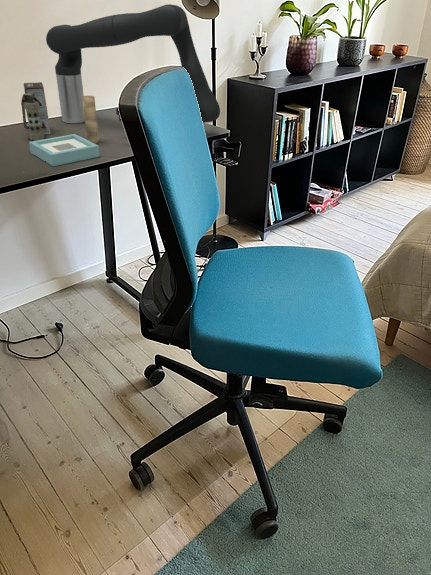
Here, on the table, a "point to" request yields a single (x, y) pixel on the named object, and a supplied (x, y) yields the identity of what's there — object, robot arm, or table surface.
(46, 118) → the coffee box
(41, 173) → the table surface
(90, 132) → the peg
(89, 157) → the socket box
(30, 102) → the grenade model
